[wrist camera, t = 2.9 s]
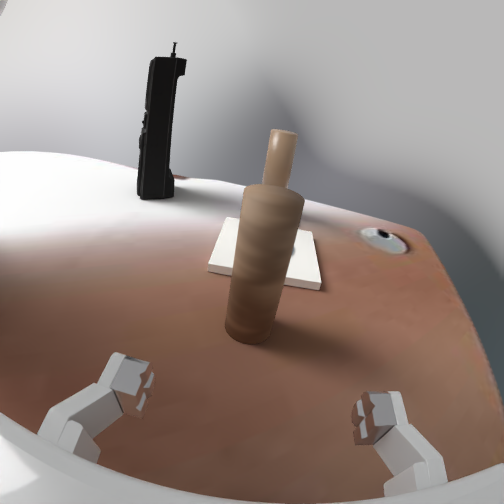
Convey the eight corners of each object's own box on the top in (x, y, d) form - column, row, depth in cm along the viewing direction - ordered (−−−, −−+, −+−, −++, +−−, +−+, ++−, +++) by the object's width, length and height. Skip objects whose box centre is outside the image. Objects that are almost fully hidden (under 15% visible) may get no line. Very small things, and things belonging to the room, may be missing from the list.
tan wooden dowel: (242, 216, 44) (255, 130, 37) (247, 198, 51) (259, 124, 44) (295, 226, 44) (314, 141, 37) (293, 206, 51) (308, 133, 44)
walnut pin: (221, 339, 24) (240, 200, 17) (228, 307, 27) (247, 180, 21) (269, 347, 24) (307, 212, 17) (271, 315, 27) (302, 190, 21)
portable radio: (136, 184, 50) (146, 47, 37) (168, 182, 53) (182, 48, 40) (137, 200, 44) (148, 41, 31) (173, 198, 46) (189, 43, 34)
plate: (207, 271, 31) (208, 261, 31) (225, 223, 42) (226, 215, 41) (318, 290, 31) (322, 281, 31) (310, 238, 42) (312, 230, 41)
